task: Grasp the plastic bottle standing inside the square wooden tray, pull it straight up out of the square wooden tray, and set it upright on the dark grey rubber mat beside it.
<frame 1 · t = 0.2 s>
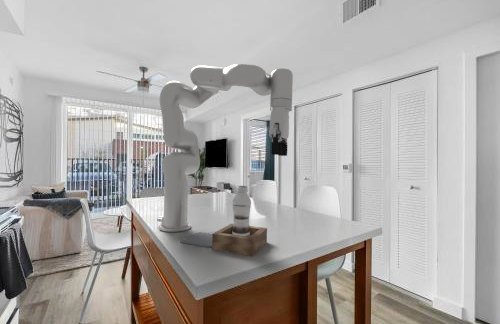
hand: (279, 155, 84), 31 cm above the table, tool pointing down, fingers open, 9 cm apart
mat: (204, 239, 86), on the table
square wooden tray: (240, 245, 81), on the table
plastic bottle: (240, 246, 81), resting in square wooden tray
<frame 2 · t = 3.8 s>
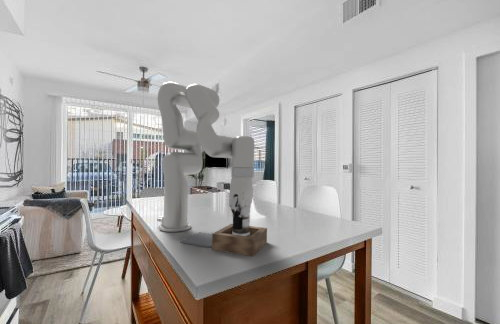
hand: (241, 226, 81), 7 cm above the table, tool pointing down, fingers closed on plastic bottle, 5 cm apart
plastic bottle: (240, 246, 81), resting in square wooden tray, touching gripper
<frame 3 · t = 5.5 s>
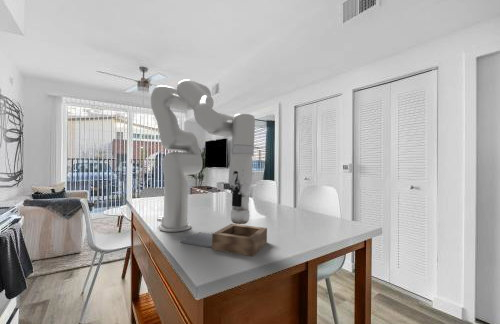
hand: (240, 204, 81), 14 cm above the table, tool pointing down, fingers closed on plastic bottle, 5 cm apart
plastic bottle: (239, 224, 82), point 7 cm above the table, touching gripper
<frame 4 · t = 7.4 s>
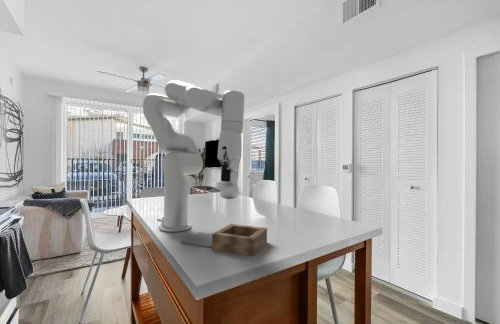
hand: (229, 180, 83), 22 cm above the table, tool pointing down, fingers closed on plastic bottle, 5 cm apart
plastic bottle: (228, 199, 83), point 15 cm above the table, touching gripper
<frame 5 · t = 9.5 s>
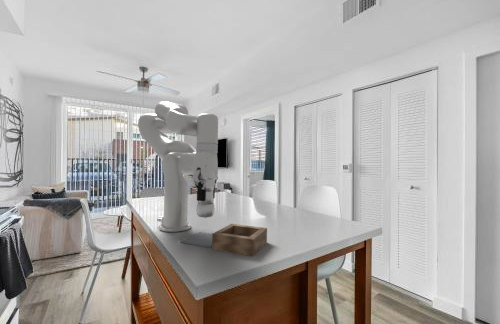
hand: (205, 199, 86), 15 cm above the table, tool pointing down, fingers closed on plastic bottle, 5 cm apart
plastic bottle: (205, 217, 86), point 8 cm above the table, touching gripper
when the fingers open (8 cm above the table, at t = 11.1 s): plastic bottle drops 1 cm, resting on mat.
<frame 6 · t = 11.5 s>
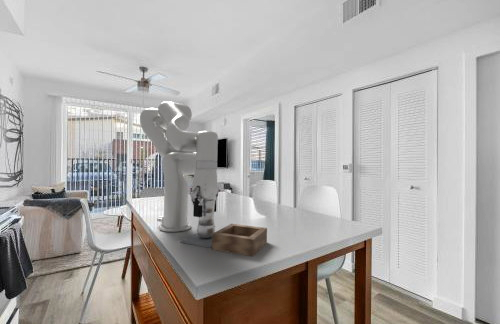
hand: (205, 214, 86), 9 cm above the table, tool pointing down, fingers open, 9 cm apart
plastic bottle: (205, 237, 87), resting on mat
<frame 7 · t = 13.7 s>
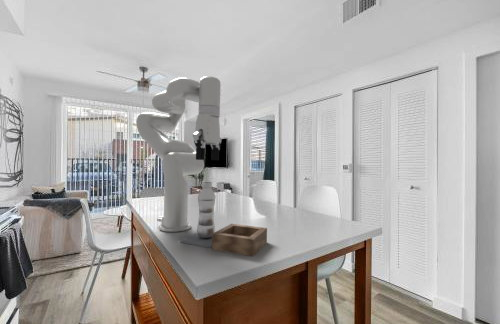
hand: (207, 160, 87), 29 cm above the table, tool pointing down, fingers open, 9 cm apart
nothing on the table moved.
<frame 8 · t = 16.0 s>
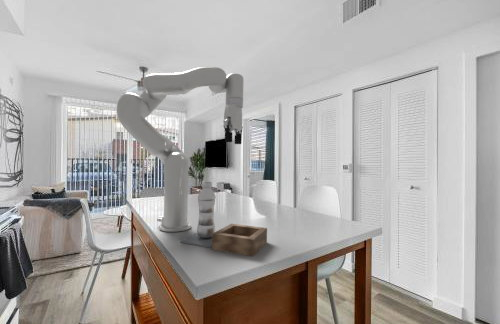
hand: (233, 143, 105), 36 cm above the table, tool pointing down, fingers open, 9 cm apart
nothing on the table moved.
at the end: plastic bottle inside the target area on the mat (1.2 cm from its centre), point 0.3 cm above the mat's base; plastic bottle tilted 0°; the gripper is holding nothing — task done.
